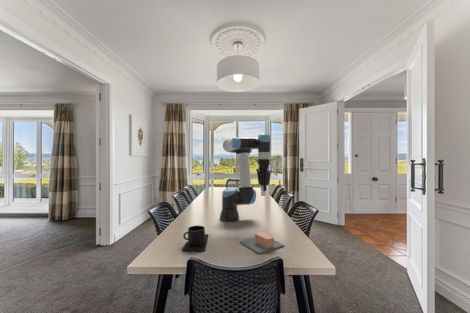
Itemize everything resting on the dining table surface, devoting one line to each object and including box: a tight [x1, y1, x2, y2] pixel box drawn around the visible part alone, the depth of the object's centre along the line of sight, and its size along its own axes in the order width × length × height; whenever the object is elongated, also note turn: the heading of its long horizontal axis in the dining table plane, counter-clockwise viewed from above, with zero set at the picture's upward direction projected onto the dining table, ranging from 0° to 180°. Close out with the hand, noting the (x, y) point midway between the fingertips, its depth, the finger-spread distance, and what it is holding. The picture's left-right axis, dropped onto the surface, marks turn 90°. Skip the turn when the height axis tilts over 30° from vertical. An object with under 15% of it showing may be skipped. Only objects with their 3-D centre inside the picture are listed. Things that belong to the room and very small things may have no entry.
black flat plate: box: [181, 233, 209, 253], centre depth 131 cm, size 25×1×15 cm
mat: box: [239, 236, 285, 255], centre depth 128 cm, size 18×18×1 cm
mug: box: [183, 225, 206, 247], centre depth 129 cm, size 9×12×9 cm
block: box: [254, 231, 275, 249], centre depth 126 cm, size 5×5×10 cm
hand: (263, 195), depth 144 cm, fingers closed
